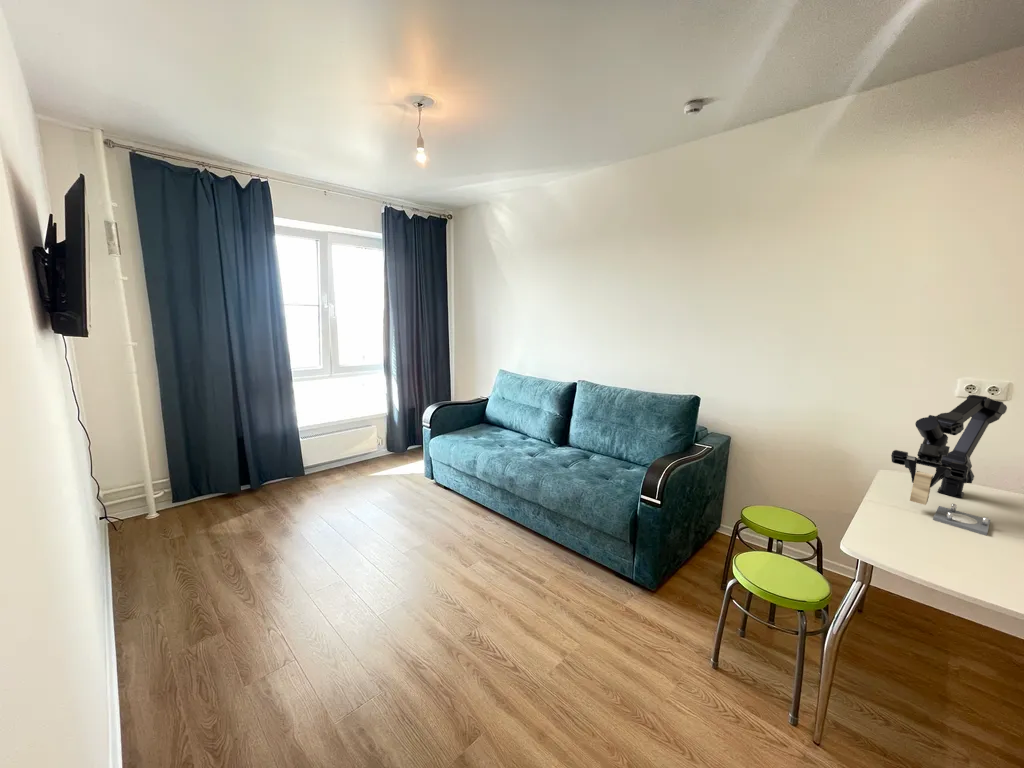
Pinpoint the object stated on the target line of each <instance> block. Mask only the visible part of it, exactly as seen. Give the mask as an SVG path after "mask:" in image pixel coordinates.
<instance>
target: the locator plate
mask: <svg viewBox="0 0 1024 768" xmlns="http://www.w3.org/2000/svg"><path fill="white" fill-rule="evenodd" d="M950 505H951V506H950V508H948V507H945V506H941V505H938V507H937V509H936V511H935V513H934V514H933V516H932V517H933V518H932V520H933V521H936V522H940V523H942V524H946V525H949V526H953V527H956V528H959V529H963V530H965V531H970V532H973V533H977V534H979V535H983V536H987V535H988V533H989V532H988V531H989V529H990V523H991V519H990V518H989V517H987V516H979V515H974V514H971V513H967V512H964V511H960V510H957V504H956V503H952V504H950Z"/></svg>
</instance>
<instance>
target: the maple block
mask: <svg viewBox="0 0 1024 768" xmlns="http://www.w3.org/2000/svg"><path fill="white" fill-rule="evenodd" d="M933 477H934V474H932V473H927V472H924V471H920V470H916V474H915V477H914V482H913V483H912V488H911V493H910V497H909V501H910V502H914V503H916V504H921V505H924V506H926V505H927V504H928V502H929V497H930V492H931V488H932V487H930V484H931V481H932V479H933Z"/></svg>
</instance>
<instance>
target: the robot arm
mask: <svg viewBox="0 0 1024 768" xmlns="http://www.w3.org/2000/svg"><path fill="white" fill-rule="evenodd" d="M1007 409H1008V407H1007V405H1006V404H1005V403H1004V401H1000V400H996V399H995V400H994V399H991V398H990V397H988V396H983V395H976V394H968V396H966V399H964V400H963V401H962V402H961V403H960V404H958V405H957V406H956V407H954V408H953V409H951V410H950V411H949V412H942V413H939V414H937V415H931V414H929V415H928V416H927V417H922V418H919V419H918V420H916V421H915V427H916V429H917V430H918V433H919V434H920V436H921V437H922V438H923V441H922V443H920V446H919V449H918V452H917V456H913V455H909V452H908V451H903V450H898V449H894V450H892V453H891V454H890V455H891V463H893V464H896V465H902V466H904V468H906V469H908V470H909V473H910V476H911V478H910V479H911V483H912V484H913V482H914V477H915V474H916V472H917V465H920V466H921V465H922V466H927V467H930V468H935V473H934V474H933V479H932V481H931V484H930V487H931V488H932V487H934V486H935V485H936V484H937V483H938V482H940V481H941V483H940V486H939V487H938V489H937V490H936V492H937V493H939V494H942V495H946V496H947V495H948V496H950V497H955V498H959V499H962V498H963V497H964V494H965V492H964V491H963V490H964V486H965V484H972V483H973V481H974V479H975V475H974V473H973V470H972V467H973V465H972V462H971V456H972V455H973V452H974V451H975V449H976V448H977V446H978V444H979V442H980V440H981V439H982V437H983V435H984V433H985V432H986V430H987V428H988V427H989V425H990V424H993V423H995V422H996V421H999V420H1000V419H1001V417H1002V415H1005V414H1006V412H1007ZM969 419H970V420H969ZM968 420H969V421H968ZM966 421H968V423H967V425H966V427H964V423H965V422H966ZM964 428H965V429H964ZM962 431H963V432H962ZM958 434H961V436H960V437H959V439H958V441H957V442H956V444H955V446H954V448H953V449H952V451H950V446H948V445H947V444H948V440H949V436H948V435H951V436H957V435H958Z"/></svg>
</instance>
